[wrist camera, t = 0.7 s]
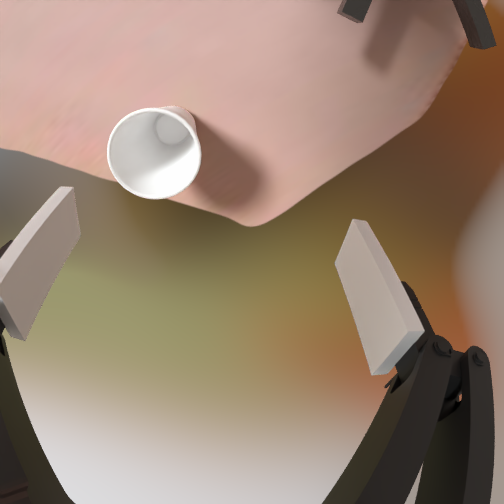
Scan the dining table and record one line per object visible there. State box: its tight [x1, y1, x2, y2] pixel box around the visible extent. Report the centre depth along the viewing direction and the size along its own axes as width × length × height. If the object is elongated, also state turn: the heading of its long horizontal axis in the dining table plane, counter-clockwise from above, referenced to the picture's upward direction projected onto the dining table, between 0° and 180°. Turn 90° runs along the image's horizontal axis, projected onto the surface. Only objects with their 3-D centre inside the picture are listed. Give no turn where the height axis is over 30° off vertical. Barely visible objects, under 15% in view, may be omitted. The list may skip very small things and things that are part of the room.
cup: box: [107, 106, 202, 199], centre depth 32 cm, size 10×10×11 cm
